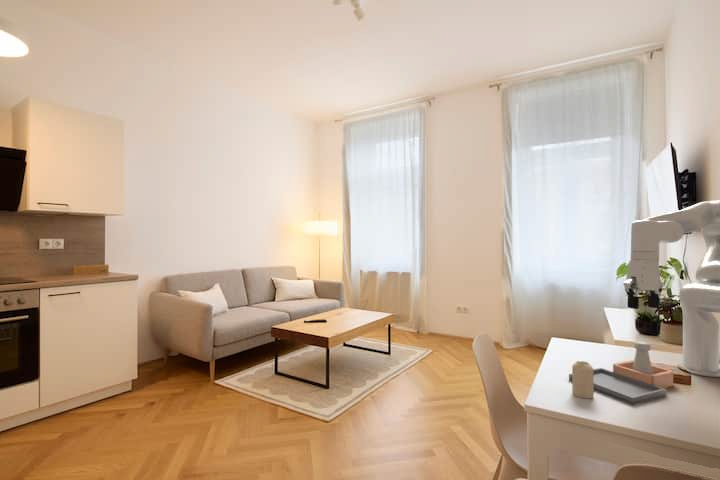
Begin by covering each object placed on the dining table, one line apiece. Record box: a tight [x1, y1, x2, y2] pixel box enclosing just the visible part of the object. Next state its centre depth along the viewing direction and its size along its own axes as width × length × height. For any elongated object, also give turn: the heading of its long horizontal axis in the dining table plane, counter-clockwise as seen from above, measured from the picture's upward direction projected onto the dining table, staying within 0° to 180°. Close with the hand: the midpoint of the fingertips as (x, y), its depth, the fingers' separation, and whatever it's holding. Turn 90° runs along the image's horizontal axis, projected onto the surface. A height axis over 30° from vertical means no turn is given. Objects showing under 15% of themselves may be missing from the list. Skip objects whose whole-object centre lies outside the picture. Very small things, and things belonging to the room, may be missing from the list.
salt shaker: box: [632, 341, 653, 375], centre depth 121 cm, size 6×6×13 cm
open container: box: [612, 359, 674, 389], centre depth 121 cm, size 12×12×4 cm
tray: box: [568, 367, 667, 406], centre depth 115 cm, size 16×20×2 cm
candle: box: [571, 360, 595, 399], centre depth 110 cm, size 6×6×10 cm
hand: (643, 307), depth 120 cm, fingers open, 9 cm apart
